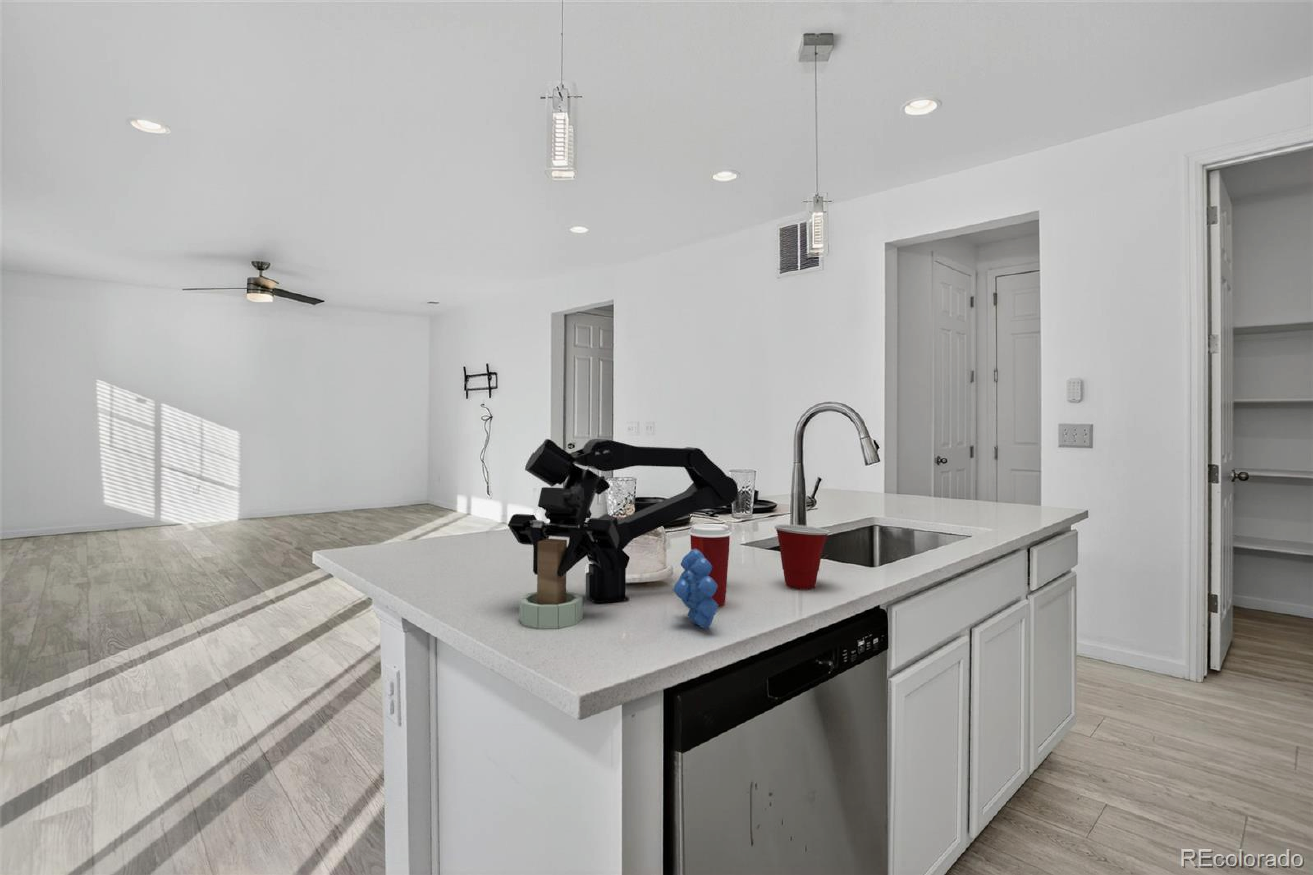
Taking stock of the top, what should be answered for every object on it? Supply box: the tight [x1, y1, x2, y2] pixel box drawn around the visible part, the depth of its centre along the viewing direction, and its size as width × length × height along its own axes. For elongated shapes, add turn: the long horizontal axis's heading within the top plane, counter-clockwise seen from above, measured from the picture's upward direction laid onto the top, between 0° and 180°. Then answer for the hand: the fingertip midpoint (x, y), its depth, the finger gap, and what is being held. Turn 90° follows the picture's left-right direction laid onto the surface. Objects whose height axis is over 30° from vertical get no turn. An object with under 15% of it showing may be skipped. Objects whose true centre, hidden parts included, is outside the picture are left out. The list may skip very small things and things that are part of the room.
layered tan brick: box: [536, 538, 568, 605], centre depth 108 cm, size 4×4×12 cm
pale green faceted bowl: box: [518, 590, 583, 630], centre depth 108 cm, size 10×10×4 cm
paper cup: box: [687, 523, 733, 609], centre depth 117 cm, size 8×8×14 cm
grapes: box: [672, 549, 719, 629], centre depth 105 cm, size 12×7×12 cm, turn 19°
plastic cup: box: [774, 523, 830, 591], centre depth 130 cm, size 11×11×12 cm
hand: (547, 574), depth 106 cm, fingers open, 4 cm apart
